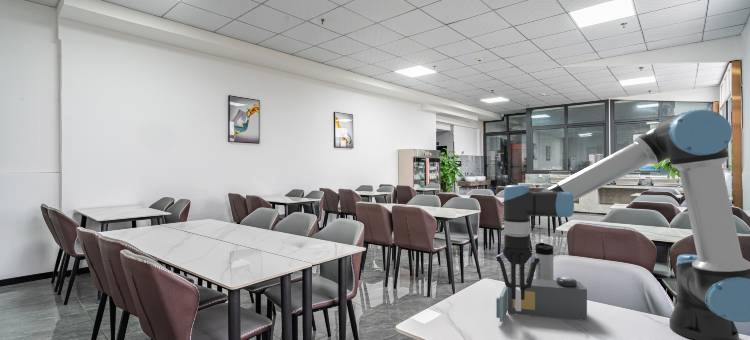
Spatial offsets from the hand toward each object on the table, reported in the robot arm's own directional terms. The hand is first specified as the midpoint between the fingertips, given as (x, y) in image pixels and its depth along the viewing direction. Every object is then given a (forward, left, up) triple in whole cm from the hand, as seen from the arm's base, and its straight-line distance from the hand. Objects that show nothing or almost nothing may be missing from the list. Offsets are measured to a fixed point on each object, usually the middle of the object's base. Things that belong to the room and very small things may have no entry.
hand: (517, 309), depth 113 cm
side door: (+4, -4, -4) cm, 7 cm away
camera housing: (-10, -13, -5) cm, 17 cm away
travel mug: (-13, -29, -5) cm, 32 cm away
